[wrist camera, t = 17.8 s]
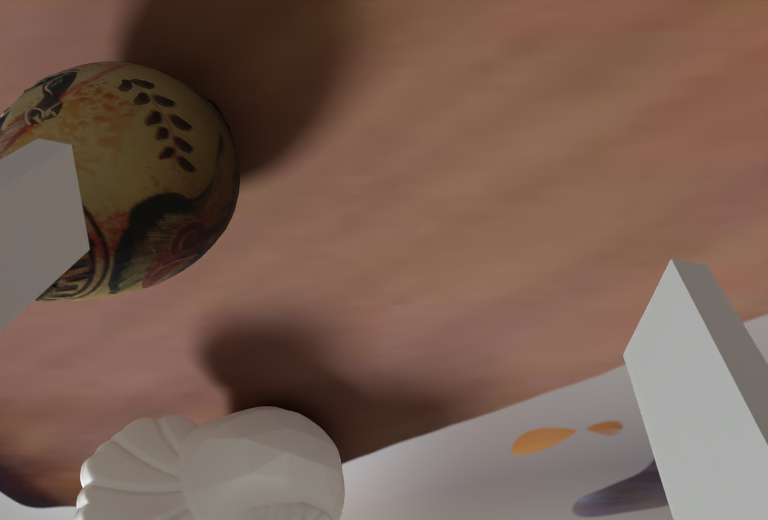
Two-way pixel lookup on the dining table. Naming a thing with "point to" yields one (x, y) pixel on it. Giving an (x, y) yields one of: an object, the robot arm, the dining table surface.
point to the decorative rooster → (215, 470)
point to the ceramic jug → (132, 171)
